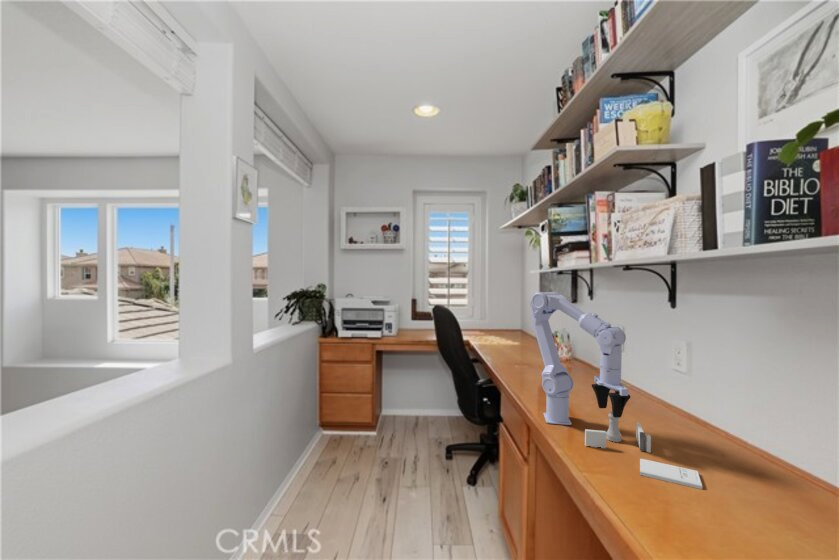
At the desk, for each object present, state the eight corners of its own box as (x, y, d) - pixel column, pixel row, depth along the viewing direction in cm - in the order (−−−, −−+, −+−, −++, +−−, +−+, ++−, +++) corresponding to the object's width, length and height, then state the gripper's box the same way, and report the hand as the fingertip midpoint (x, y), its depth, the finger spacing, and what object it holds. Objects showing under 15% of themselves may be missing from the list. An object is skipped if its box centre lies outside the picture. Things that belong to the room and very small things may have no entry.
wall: (584, 444, 111) (585, 429, 111) (649, 450, 108) (649, 434, 108) (585, 446, 110) (585, 430, 110) (650, 452, 106) (650, 436, 106)
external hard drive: (639, 463, 101) (697, 476, 95) (639, 477, 94) (702, 492, 88) (639, 457, 101) (697, 469, 95) (640, 470, 94) (702, 484, 88)
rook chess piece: (602, 437, 117) (602, 410, 117) (615, 436, 117) (615, 410, 117) (611, 443, 112) (612, 416, 112) (625, 442, 113) (625, 415, 113)
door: (640, 437, 116) (640, 422, 116) (644, 451, 107) (645, 433, 107) (635, 437, 116) (636, 421, 116) (639, 450, 107) (640, 433, 107)
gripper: (585, 362, 122) (584, 404, 122) (611, 373, 107) (610, 421, 108) (606, 362, 123) (605, 404, 123) (635, 373, 108) (634, 421, 108)
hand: (609, 412), depth 115 cm, fingers open, 7 cm apart
